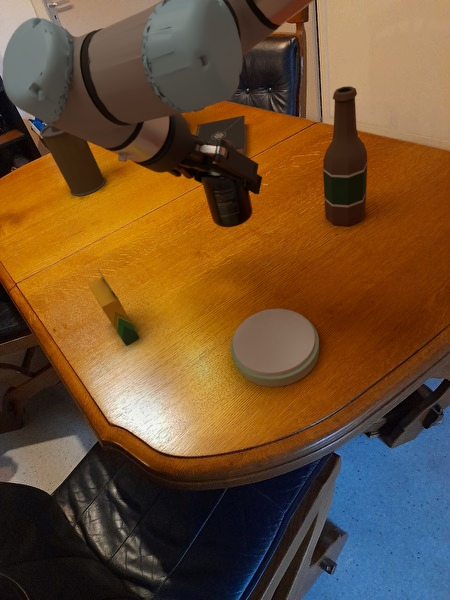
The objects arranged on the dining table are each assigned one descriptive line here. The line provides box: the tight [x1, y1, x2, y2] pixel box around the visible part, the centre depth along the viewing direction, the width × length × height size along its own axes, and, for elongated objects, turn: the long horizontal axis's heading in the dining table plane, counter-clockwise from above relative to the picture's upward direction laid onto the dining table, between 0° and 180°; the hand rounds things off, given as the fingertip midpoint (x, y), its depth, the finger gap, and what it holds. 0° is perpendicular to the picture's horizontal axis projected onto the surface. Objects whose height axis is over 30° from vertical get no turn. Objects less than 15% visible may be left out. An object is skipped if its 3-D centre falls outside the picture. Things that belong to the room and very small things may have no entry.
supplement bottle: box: [201, 140, 253, 228], centre depth 63 cm, size 7×7×12 cm
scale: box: [230, 308, 320, 388], centre depth 60 cm, size 13×13×3 cm
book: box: [195, 115, 247, 157], centre depth 116 cm, size 22×15×3 cm
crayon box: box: [88, 268, 141, 347], centre depth 67 cm, size 7×3×12 cm, turn 32°
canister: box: [39, 125, 106, 197], centre depth 110 cm, size 11×10×20 cm
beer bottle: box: [322, 85, 368, 227], centre depth 73 cm, size 8×8×24 cm
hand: (237, 183), depth 66 cm, fingers closed on supplement bottle, 7 cm apart
